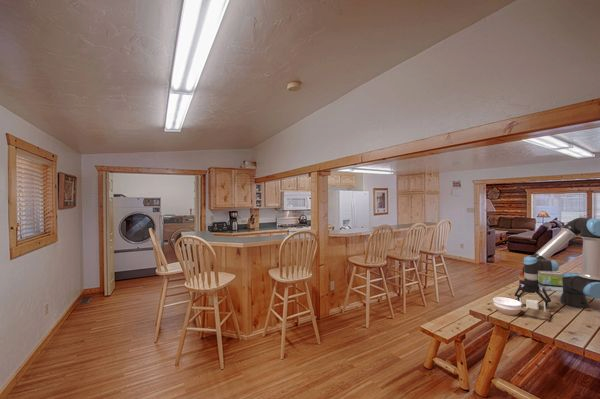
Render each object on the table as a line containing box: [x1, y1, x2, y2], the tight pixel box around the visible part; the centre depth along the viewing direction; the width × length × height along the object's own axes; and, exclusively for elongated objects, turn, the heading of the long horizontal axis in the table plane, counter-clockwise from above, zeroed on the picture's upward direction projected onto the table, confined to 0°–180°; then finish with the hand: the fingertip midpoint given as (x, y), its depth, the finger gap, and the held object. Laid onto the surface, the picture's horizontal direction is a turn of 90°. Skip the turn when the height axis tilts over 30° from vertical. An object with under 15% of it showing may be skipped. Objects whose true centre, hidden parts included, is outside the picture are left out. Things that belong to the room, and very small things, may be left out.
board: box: [524, 308, 552, 323], centre depth 177 cm, size 12×14×2 cm
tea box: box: [538, 271, 563, 293], centre depth 227 cm, size 15×10×15 cm, turn 68°
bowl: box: [492, 296, 523, 317], centre depth 184 cm, size 16×16×8 cm
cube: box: [525, 298, 540, 310], centre depth 188 cm, size 6×6×6 cm
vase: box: [518, 266, 535, 294], centre depth 224 cm, size 11×11×20 cm
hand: (532, 308), depth 188 cm, fingers open, 12 cm apart
